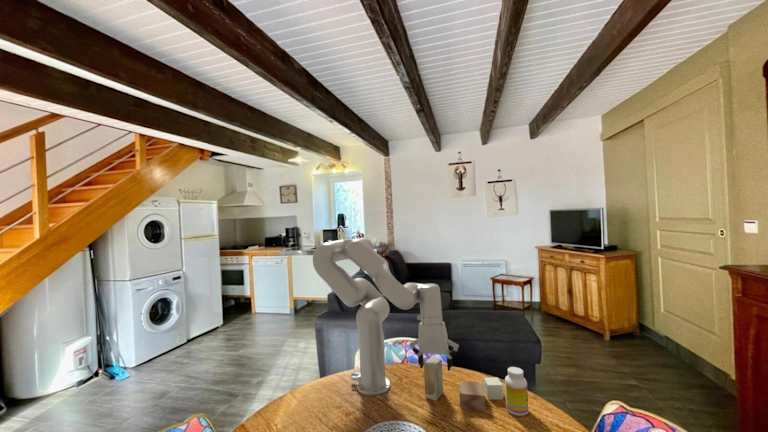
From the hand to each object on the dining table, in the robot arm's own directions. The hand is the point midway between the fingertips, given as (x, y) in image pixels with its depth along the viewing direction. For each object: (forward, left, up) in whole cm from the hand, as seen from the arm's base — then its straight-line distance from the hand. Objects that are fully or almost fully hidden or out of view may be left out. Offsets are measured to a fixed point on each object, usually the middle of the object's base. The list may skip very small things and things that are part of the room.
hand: (435, 367), depth 109 cm
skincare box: (-1, 0, -10) cm, 10 cm away
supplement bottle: (+26, -2, -10) cm, 28 cm away
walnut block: (+12, -1, -10) cm, 16 cm away
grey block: (+19, +5, -10) cm, 22 cm away
